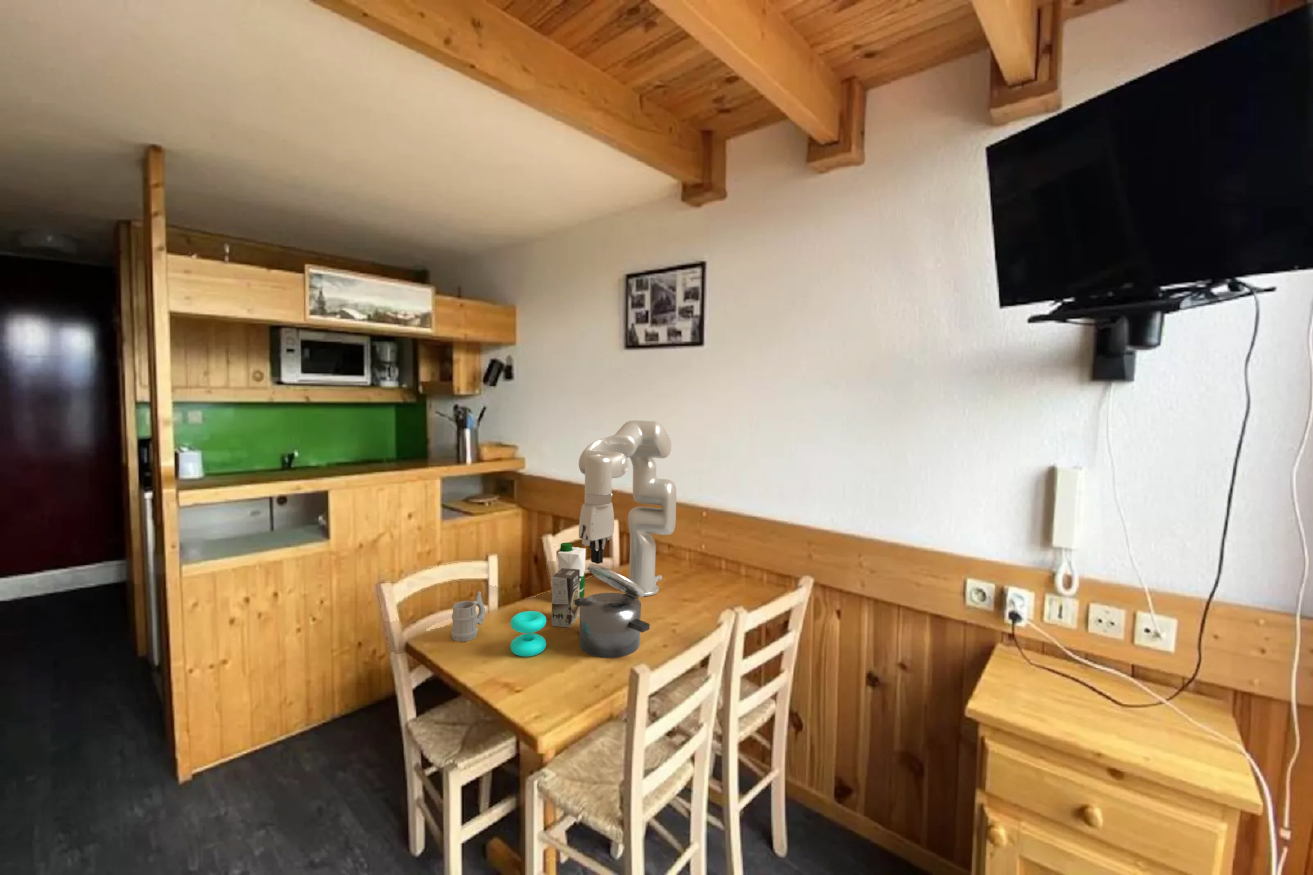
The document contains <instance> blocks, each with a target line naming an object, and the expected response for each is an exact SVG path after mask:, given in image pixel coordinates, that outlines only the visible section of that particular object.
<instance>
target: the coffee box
mask: <svg viewBox="0 0 1313 875" xmlns="http://www.w3.org/2000/svg"><path fill="white" fill-rule="evenodd" d="M551 578H552V582H551V587H552V588H551V626H554V627H562V628H571V626H572V625H573V624H574V623H575V621H577V619H578V618H580V607H579V606H577V605H575V600H576V599H578V598H579V584H580V570H579V569H566V568H562V569H561V570H560V571H557V572H556V573H555V574H554V575H552V576H551Z"/></svg>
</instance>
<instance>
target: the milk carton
mask: <svg viewBox="0 0 1313 875" xmlns="http://www.w3.org/2000/svg"><path fill="white" fill-rule="evenodd" d="M586 550H587V549H586V548H584V547H577V546H576V547H575V546H573V543H571V542H562V543H560V549H559V550H558V552H557V559H558V560H557V561H558V562H557V563H558V565H557V566H558V567H557V568H558V569H557V570H558V571H560V570H561V569H562V568H566V569H579V570H580V584H579V598H581V597H583V598H585V588H586V553H587V551H586ZM558 571H557V572H558Z"/></svg>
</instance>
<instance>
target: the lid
mask: <svg viewBox="0 0 1313 875" xmlns="http://www.w3.org/2000/svg"><path fill="white" fill-rule="evenodd" d="M587 570H588V572H589V573H591V574H592V575H593V576H594V577H596V578H597V579H598V580H600V581H602V582H604V583H605V584H607V585H608V586H611V587H613V588H614V589H617V590H619V591H621V592H623V593H624V594H625V593H628V594H630V595H633V596H636V597H638V598H643V597H644V596H643V595H644V593H645V592H644V590H643V589H642V588H641V587H640V586H638V585H637V584H635V583H634V582H632V581H631V580H629V578H627V577H625V576H624V575H623V574H621V572H620V573H619V572H617V571H614V570H611V569H609V568H607V567H605V566H602V565H600V564H596V563H590V564H588V566H587Z"/></svg>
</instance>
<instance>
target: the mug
mask: <svg viewBox="0 0 1313 875" xmlns="http://www.w3.org/2000/svg"><path fill="white" fill-rule="evenodd" d="M474 599H475V600H473V601H472V600H462V601H458V602H456V603H454V604H453V606H452V614H451V619H452V623H451V624H452V628H451V630H450V634H451V639H452V640H453V641H454V642H458V641H460V642H461V641H462V642H469V641H472V640H473V639H475V638H476V637H477V636H478V632H479V627H478V626H477V624H478V625H479V626H482V625H483V622H484V620H485V615H486V614H485V613H486V608H485V604H484V602H483V598H482V592H481V591H479V590H478V591H477V592H476V596H475V597H474ZM476 606H477V608H478V613H477V609H476Z"/></svg>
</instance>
